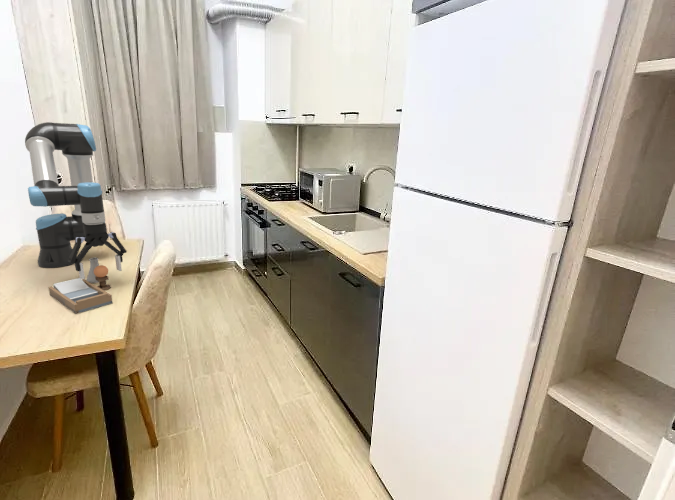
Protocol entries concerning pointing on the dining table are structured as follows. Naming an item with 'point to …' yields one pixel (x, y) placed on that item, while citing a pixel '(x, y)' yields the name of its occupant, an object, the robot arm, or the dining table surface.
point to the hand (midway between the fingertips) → (101, 274)
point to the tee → (103, 283)
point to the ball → (101, 271)
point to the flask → (92, 270)
